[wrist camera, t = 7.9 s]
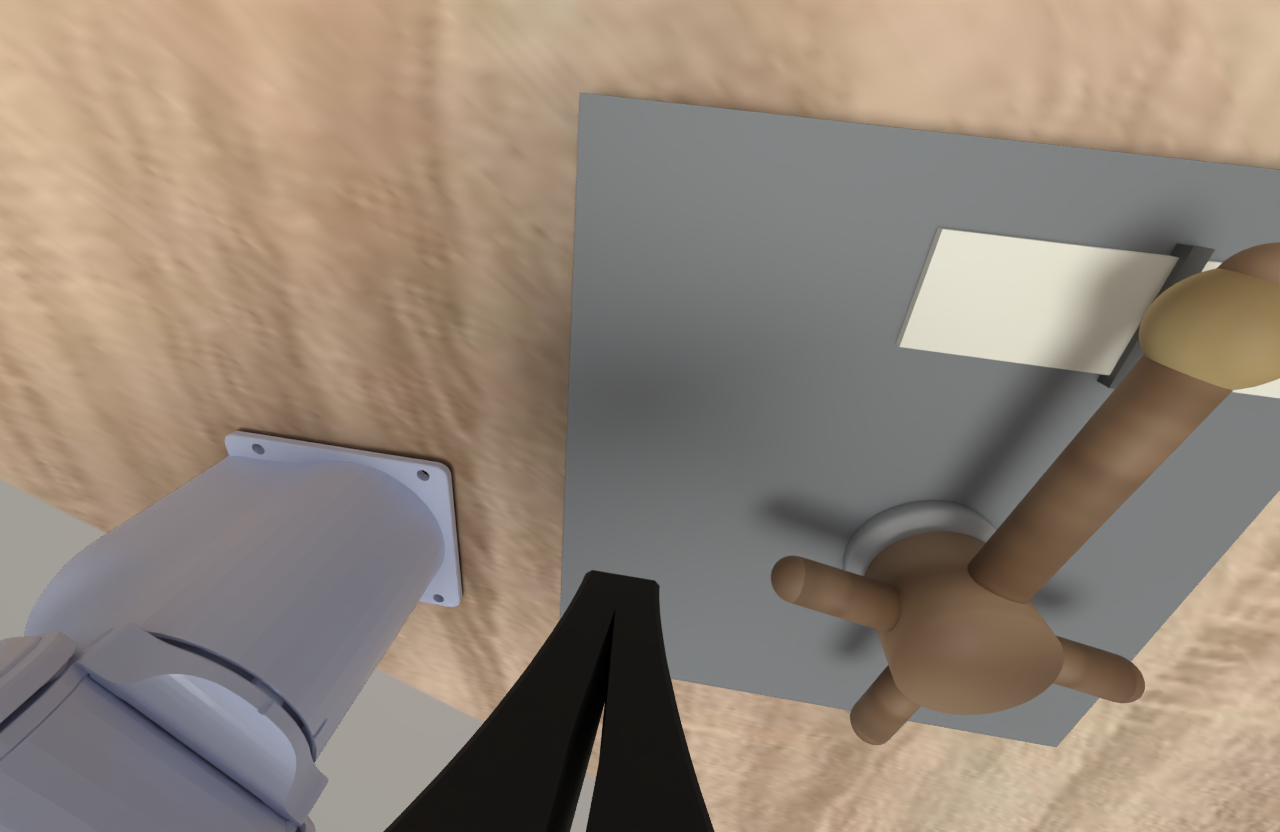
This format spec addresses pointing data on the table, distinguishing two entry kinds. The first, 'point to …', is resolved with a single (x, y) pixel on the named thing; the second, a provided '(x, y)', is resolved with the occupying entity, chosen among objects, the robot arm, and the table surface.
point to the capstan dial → (1048, 523)
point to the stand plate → (880, 376)
